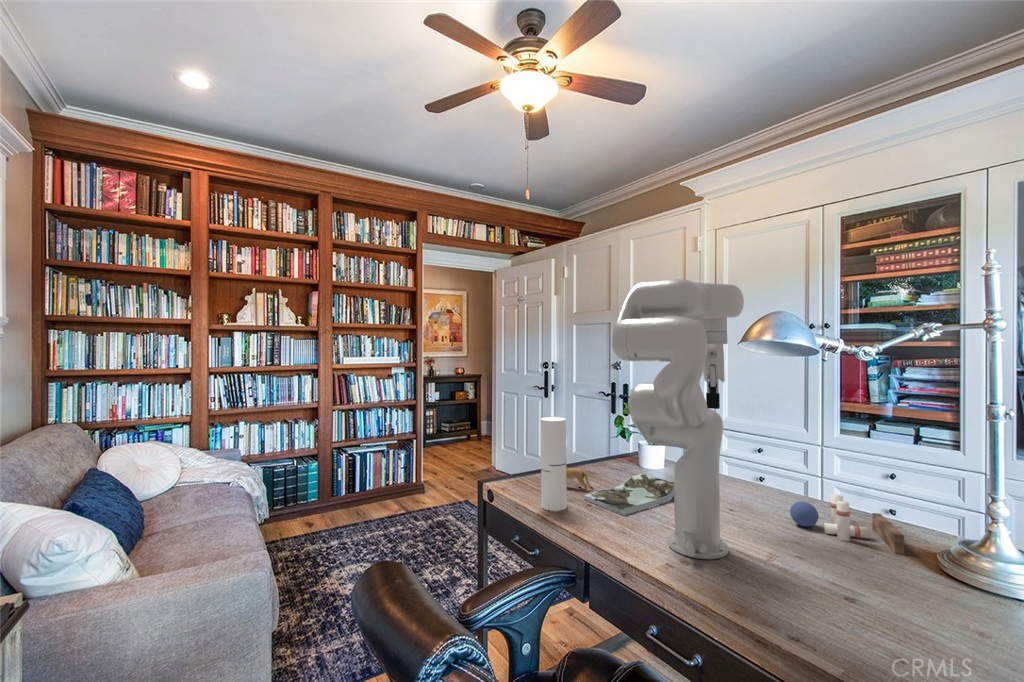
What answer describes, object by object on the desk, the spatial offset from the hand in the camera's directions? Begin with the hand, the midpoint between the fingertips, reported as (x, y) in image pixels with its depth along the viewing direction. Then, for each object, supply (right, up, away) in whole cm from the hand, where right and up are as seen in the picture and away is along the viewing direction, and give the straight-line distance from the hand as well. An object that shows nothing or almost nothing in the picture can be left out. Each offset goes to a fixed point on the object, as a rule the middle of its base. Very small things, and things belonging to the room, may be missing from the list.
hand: (712, 408), depth 119 cm
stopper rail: (+34, -29, -15) cm, 47 cm away
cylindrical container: (-41, -30, +9) cm, 52 cm away
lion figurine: (-35, -30, +26) cm, 53 cm away
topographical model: (-17, -30, +16) cm, 38 cm away
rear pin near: (+25, -29, -14) cm, 40 cm away
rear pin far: (+27, -29, -9) cm, 40 cm away
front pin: (+23, -28, -10) cm, 37 cm away
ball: (+20, -26, -6) cm, 33 cm away
